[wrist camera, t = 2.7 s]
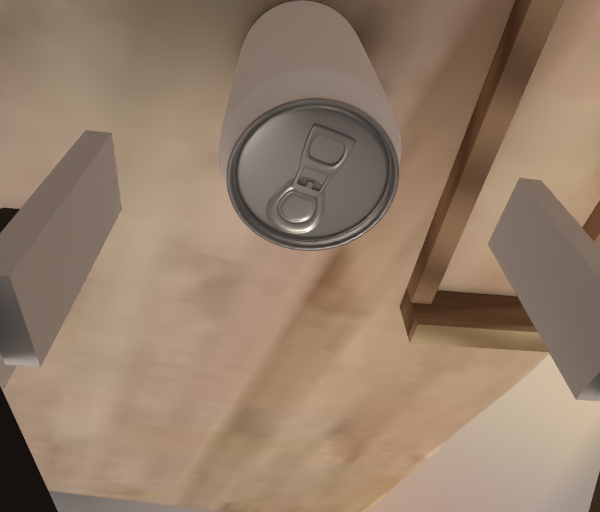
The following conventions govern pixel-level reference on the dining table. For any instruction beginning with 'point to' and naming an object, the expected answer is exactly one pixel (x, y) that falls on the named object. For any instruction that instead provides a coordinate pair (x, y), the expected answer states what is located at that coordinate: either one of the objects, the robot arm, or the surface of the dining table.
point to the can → (308, 131)
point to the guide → (462, 197)
